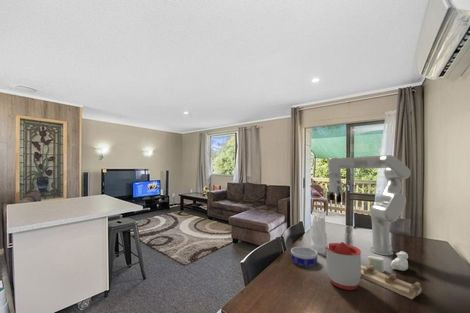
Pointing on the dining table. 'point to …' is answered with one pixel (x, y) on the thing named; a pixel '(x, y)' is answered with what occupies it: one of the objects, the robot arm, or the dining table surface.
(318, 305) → the dining table surface
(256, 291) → the dining table surface
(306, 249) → the dog bowl
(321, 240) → the white crystal cluster
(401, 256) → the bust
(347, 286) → the citrus juicer
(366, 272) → the wooden rack
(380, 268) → the frame block
